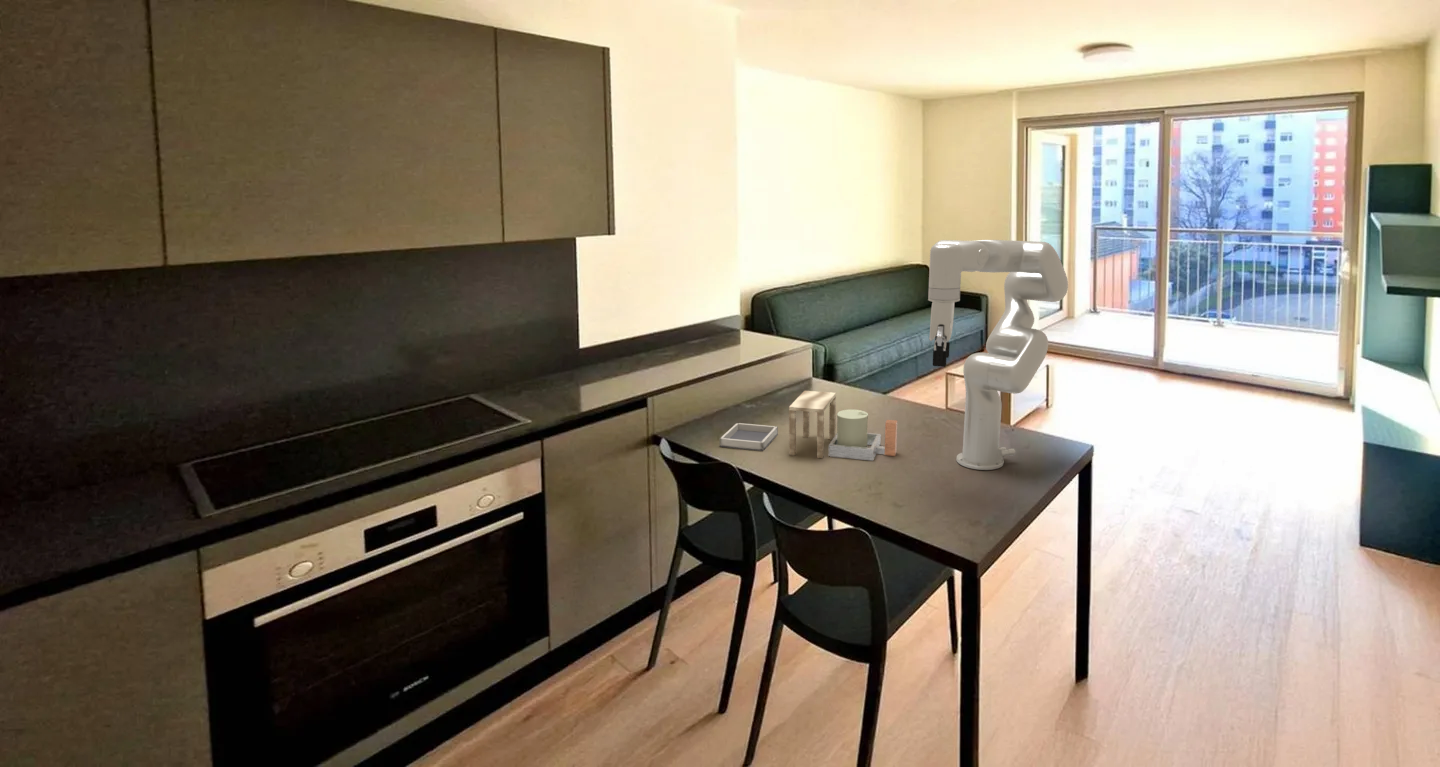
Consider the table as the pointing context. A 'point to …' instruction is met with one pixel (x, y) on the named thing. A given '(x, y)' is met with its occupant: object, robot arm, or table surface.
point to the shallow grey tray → (872, 440)
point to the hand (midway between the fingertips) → (940, 361)
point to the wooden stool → (808, 403)
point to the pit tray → (749, 436)
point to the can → (852, 428)
